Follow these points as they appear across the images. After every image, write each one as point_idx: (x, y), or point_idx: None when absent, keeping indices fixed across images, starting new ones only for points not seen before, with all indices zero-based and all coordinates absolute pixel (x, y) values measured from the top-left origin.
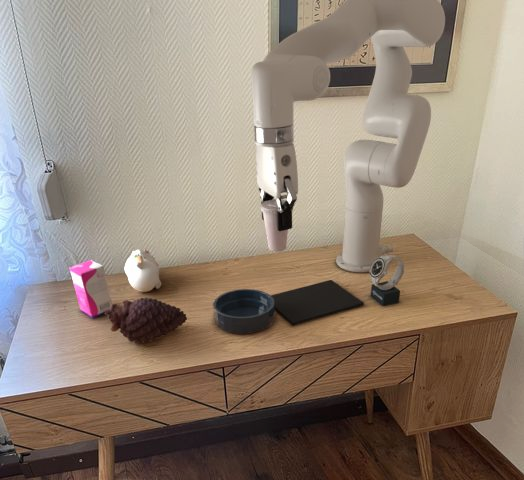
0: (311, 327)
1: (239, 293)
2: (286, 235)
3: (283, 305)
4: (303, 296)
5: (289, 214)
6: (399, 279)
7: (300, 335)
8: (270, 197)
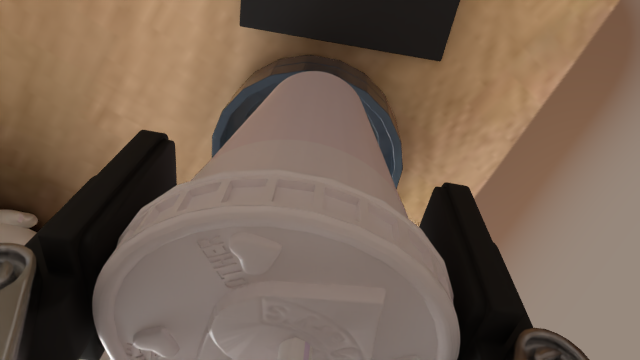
0: (491, 15)
1: (226, 127)
2: (373, 134)
3: (331, 9)
4: None
5: (526, 327)
6: None
7: (494, 74)
8: (49, 321)
